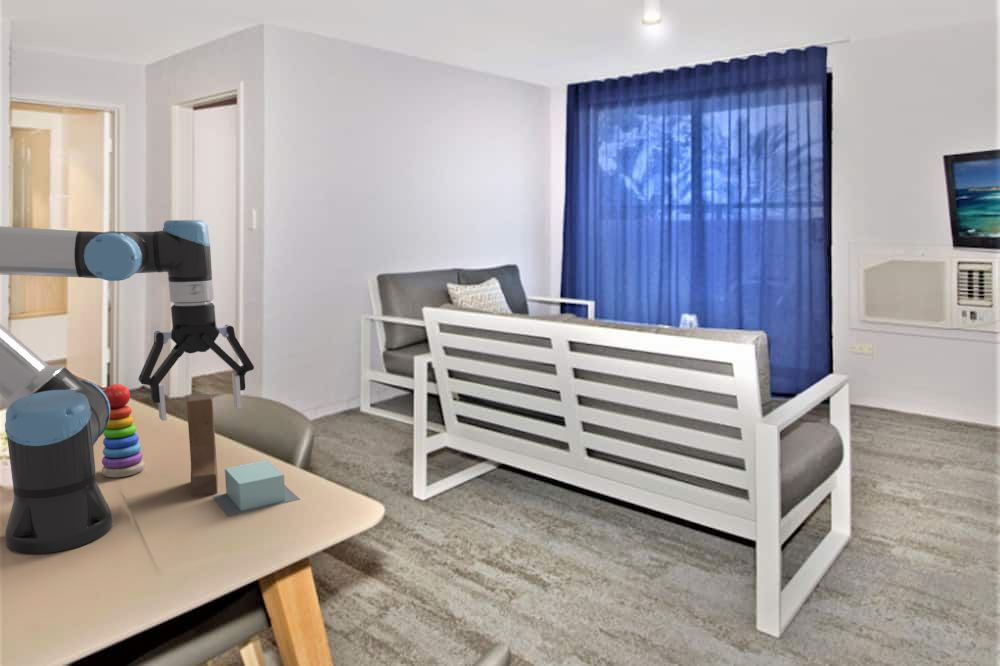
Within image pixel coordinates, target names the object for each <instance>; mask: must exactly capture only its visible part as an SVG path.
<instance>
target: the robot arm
mask: <svg viewBox="0 0 1000 666" xmlns="http://www.w3.org/2000/svg"><path fill="white" fill-rule="evenodd" d="M211 257H212V255H211V241H210V235H209V230H208V224H207V223H206V222H205V221H203V220H202V219H201V220H200V219H185V220H182V219H177V220H176V219H175V220H172V219H171V220H170V219H169V220H166V221H164V223H163V227H162V230H159V231H156V230H155V231H113V230H111V231H110V230H108V231H104V232H103V231H86V230H85V231H83V230H82V231H81V230H68V229H54V228H53V229H51V228H50V229H49V228H35V227H33V228H32V227H19V226H18V227H16V226H14V227H13V226H0V275H2V276H3V275H4V276H5V275H6V276H28V277H29V276H31V277H32V276H33V277H34V276H35V277H59V278H60V277H62V278H64V277H65V278H83V279H85V278H87V279H101V280H104V281H107V282H108V281H109V282H110V281H111V282H115V281H118V282H119V281H124V280H127V279H129V278H131V277H132V276H133V275H135V274H147V273H151V274H152V273H167V276H168V278H167V279H168V289H169V302H171V303H173V305H171V307H170V310H171V311H170V312H171V313H170V314H171V323H172V326H171V327H172V329H171V332H169V331H168V332H167V331H166V332H165V331H164V332H163V331H160V330H157V331H155V332H154V334H153V344H152V346H151V349H150V351H149V353H148V355H147V358H146V360H145V362H144V365H143V367H142V369H141V371H140V374H139V376H138V381H139V383H140V384H141V385H147V386H149V387H150V399H151V401H152V403H153V404H157V405H158V415H159V419H160V420H161V421H162V422H163V421H167V411H166V400H165V399H166V397H165V387H164V385H163V384H162V383H161V382H162V381H163V379H165V377H166V376H167V374H168V373H169V372H170V370H171V369H172V367H173V366H174V365H175V364H176V363H177V361H178V360H179V358H181V357H182V356H183V355H184V353H187V354H194V353H197V352H199V353H204V352H205V353H207V351H209V350H211V351H212V352H213V353H215V354H216V355H217V356H218V357H219V358H220V359H221V360H222V361H223V362H224V363H226V364H227V365H228V366H229V367H230V368H231V369H232V370H233V371H234V372H235V373H231V382H232V396H233V397H232V399H233V406H234V407H235V408H236V409H240V410H241V409H242V393H241V392H242V391H245V390H246V377H245V375H246V374H247V373H248V372H250V371H253V370H254V368H255V366H254V364H253V363H252V361H251V359H250V358H249V356H248V354H247V353H246V352H245V350H244V348H243V347H242V345H241V343H240V342H239V340H238V338H237V337H236V333H235V328H234V326H233V325H230V324H225V325H224V326H220V327H218V326H217V321H216V310H215V307H216V306H215V304H214V303H213V302H212V301H213V300H214V298H215V297H214V288H213V287H214V286H213V273H212V272H213V271H212V269H213V268H212V258H211ZM219 335H221V336H222V337H224V338H226V340H227V342H228V343H229V345H230V346H231V348H232V350H233V351H234V352H235V354H236V356H237V357H238V359H239V360H240V363H241V364H242V365H240V364H239V363H237V362H236V361H235V360H234V359H233V358H232V357H231V356H230V355H229V354H228V353H227V352H226V351H225V350H224V349H222V348H221V346H219V345H218V344H217V343H216V342H215V341H216V339H217V338H218V336H219ZM170 339H171V340H172V341H173V342H174V343H175V345H174V346H173V348H172V349H171V351H170V353H169V354H168V355H167V357H166V358H165V359H164V360H163V362H162V363H161V364H160V366H159V367H158V368H157V370H156V371H155V372H154V368H155V366H156V364H157V363H158V359H159V357H160V356H161V352H162V350H163V349H164V348H163V347H164V345H166V344H167V343H168V340H170ZM153 372H154V374H153V375H152V373H153ZM151 375H152V376H151ZM0 396H1V397H3V399H5V400H6V402H7V409H6V411H5V423H4V428H5V429H4V432H5V434H6V437H7V438H6V439H7V445H8V447H7V448H8V454H9V461H10V464H9V465H10V471H11V472H10V473H11V480H12V488H13V496H14V497H13V502H12V505H11V509H10V514H9V517H8V521H7V524H6V526H5V527H6V528H5V534H4V535H5V542H6V543H5V544H6V547H7V549H8V550H9V551H11V552H12V553H13V552H14V553H16V554H23V555H41V554H50V553H57V552H62V551H67V550H70V549H74V548H78V547H81V546H83V545H86V544H89V543H91V542H93V541H96V540H98V539H99V538H101V537H103V536H104V535H106V534H107V533H108V532H109V531H110V530H111V529H112V527H113V516H112V512H111V509H110V507H109V504H108V503H107V501H106V499H105V497H104V494H103V493H102V491H101V489H100V486H99V485H98V483H97V475H96V473H97V472H96V462H95V453H94V445H95V444H96V442H97V441H98V439H99V438H100V437H102V435H103V433H104V431H105V429H106V428H107V425H108V422H109V418H110V404H109V400H108V398H107V396H106V395H105V393H104V390H102V388H100V387H99V386H97V385H96V384H94V383H93V382H91V381H87V380H84V379H79V378H78V377H77V376H76V375H75V374H73V373H72V372H71V371H70V370H69V369H67V367H65V366H64V365H50V364H48V363H47V362H46V361H44V360H43V359H42V358H41V357H40V356H38V354H37V353H35V352H34V351H32V349H30V348H29V347H28V346H27V345H25V344H24V342H22V341H21V340H20V339H18V338H17V337H16V335H14V334H13V333H11V331H9V330H8V329H7V328H6V327H5V326H4V325H2V324H1V323H0Z"/></svg>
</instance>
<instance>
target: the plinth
mask: <svg viewBox="0 0 1000 666" xmlns="http://www.w3.org/2000/svg"><path fill="white" fill-rule="evenodd" d="M224 477H225V479H224V480H225V492H226V494H227V495H228V496H229V497H230V498H231V499H232V501H233V502H234V503H235V504H236V505H237V506H238V508H239V509H240V510H241V511H242V510H246V509H251V508H255V507H260V506H264V505H268V504H273V503H277V502H281V501H285V486H286V485H285V474H284V473H282V472H281V471H280V470H279V469H278V468H277V467H275V465H274V464H272V463H271V462H270V461H269V460H268V459H265V460H260V461H256V462H251V463H245V464H241V465H234V466H230V467H229V466H228V467H224Z"/></svg>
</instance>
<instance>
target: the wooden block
mask: <svg viewBox="0 0 1000 666" xmlns="http://www.w3.org/2000/svg"><path fill="white" fill-rule="evenodd" d="M213 403H214V402H213V395H212V394H203V395H202V394H199V395H189V396H187V400H186V412H187V413H186V414H187V415H186V416H187V425H188V427H187V428H188V439H189V454H190V487H191V497H194V498H196V497H203V496H211V495H212V496H213V495H217V494H218V491H219V490H218V489H219V488H218V486H219V477H218V476H219V475H218V463H217V460H218V459H217V449H216V448H217V447H216V446H217V445H216V434H215V433H216V432H215V418H214V417H215V415H214V404H213Z"/></svg>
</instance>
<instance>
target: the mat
mask: <svg viewBox="0 0 1000 666" xmlns="http://www.w3.org/2000/svg"><path fill="white" fill-rule="evenodd" d="M212 498H213V499H214V500H215V502H216V503H217V504H218V505H219V507H220V508H221V509H222V510H223V512H224V513H225V515H227V517H231V516H234V515H235V516H236V515H239V514H243V513H247V512H251V511H252V512H253V511H256V510H260V509H261V510H262V509H265V508H269V507H274V506H280V505H283V504H287V503H291V502H297V501H301V499H300V498H299V496H297V494H295V493H294V492H293V491H292V490H291V489H290V488H289V487H288V486H286V485H285V501H281V502H277V503H273V504H268V505H264V506H260V507H255V508H251V509H246V510H242V511H241V510H240V509H239V508H238V506H237V505H236V504H235V503H234V502H233V501H232V499H231V498H230V497H229V496H228V495H227V494H226V493H221V494H218V495H217V494H215V495H212Z"/></svg>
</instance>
